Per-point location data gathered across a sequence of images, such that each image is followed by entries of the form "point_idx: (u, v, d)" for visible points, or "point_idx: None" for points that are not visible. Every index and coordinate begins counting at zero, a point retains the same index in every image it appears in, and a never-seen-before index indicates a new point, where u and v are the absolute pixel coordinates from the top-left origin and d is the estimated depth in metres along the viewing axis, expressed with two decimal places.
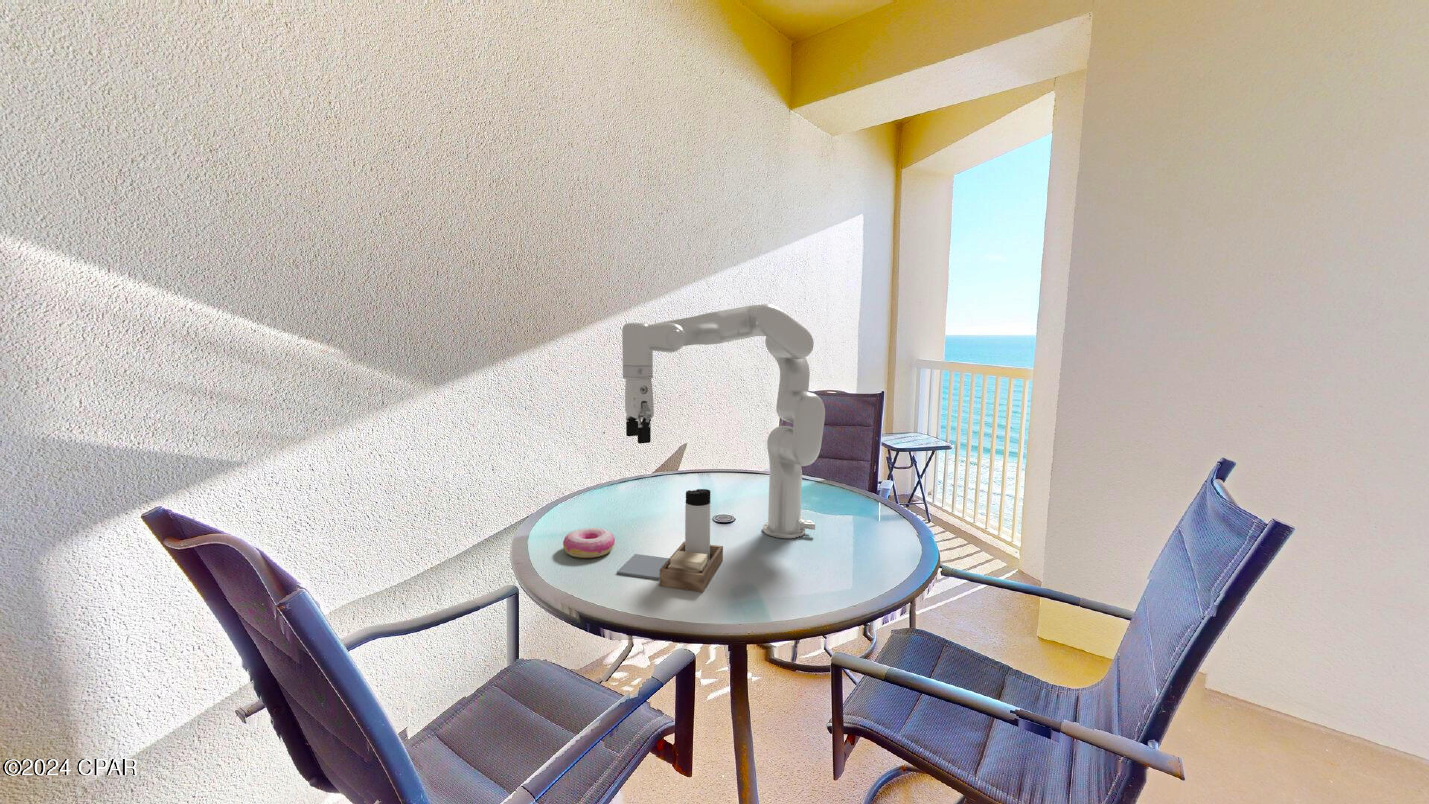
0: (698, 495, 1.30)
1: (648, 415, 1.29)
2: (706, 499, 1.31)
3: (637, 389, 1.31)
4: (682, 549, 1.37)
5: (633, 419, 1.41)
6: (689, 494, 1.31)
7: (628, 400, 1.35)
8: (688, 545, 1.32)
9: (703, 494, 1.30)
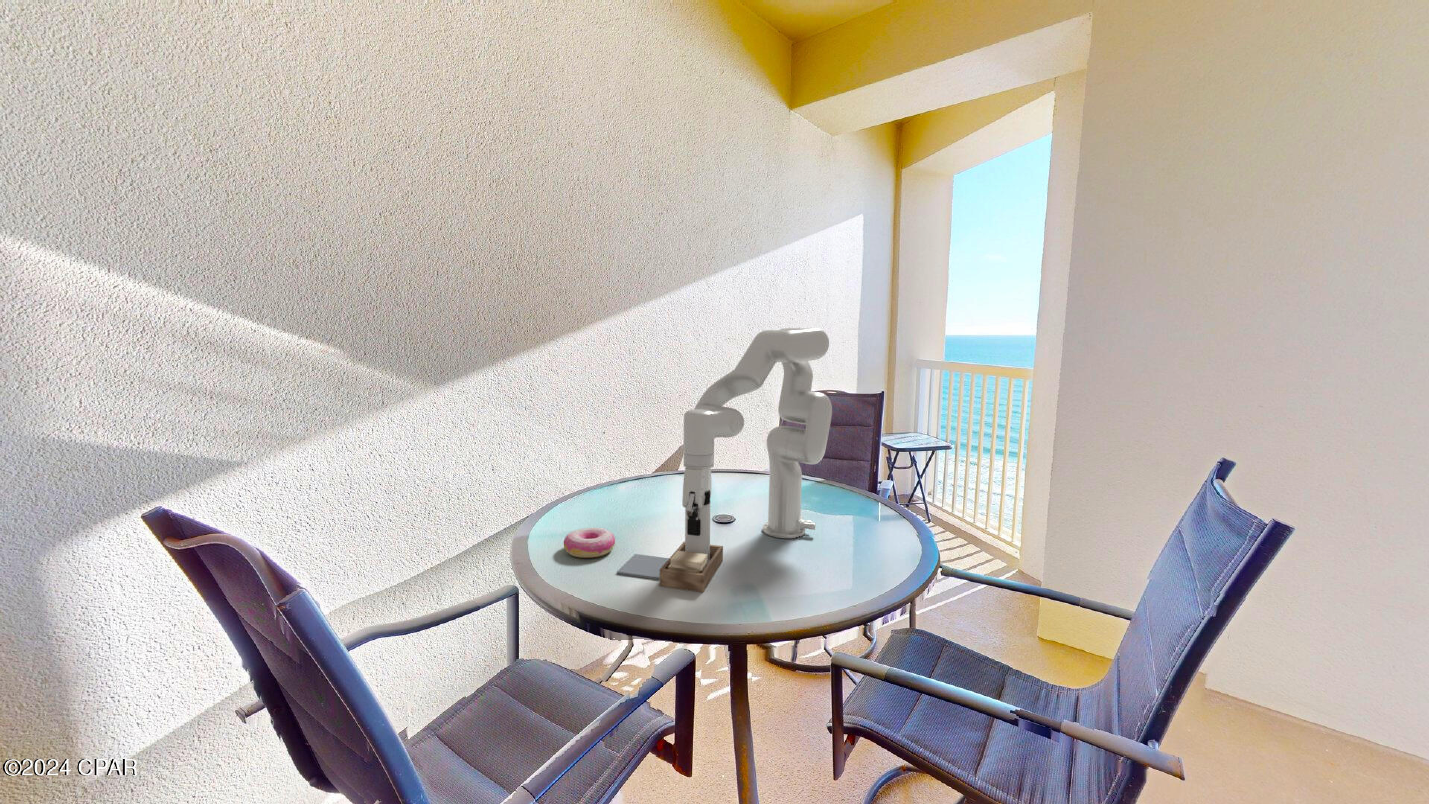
0: None
1: None
2: (706, 499, 1.31)
3: None
4: (682, 549, 1.37)
5: None
6: None
7: (707, 488, 1.32)
8: (688, 545, 1.32)
9: None
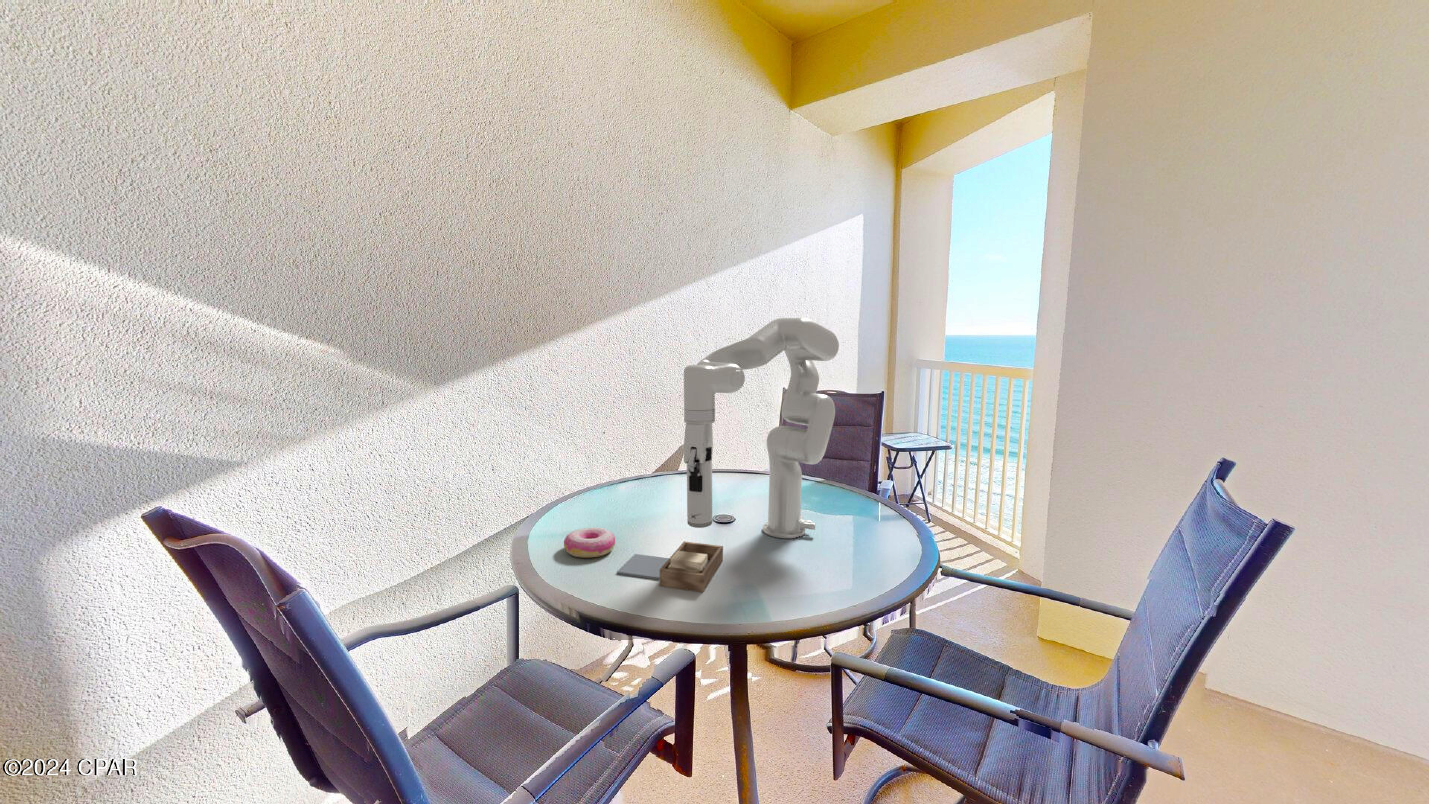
0: None
1: None
2: (707, 455, 1.30)
3: None
4: (682, 549, 1.37)
5: None
6: None
7: (709, 444, 1.31)
8: (690, 502, 1.31)
9: None
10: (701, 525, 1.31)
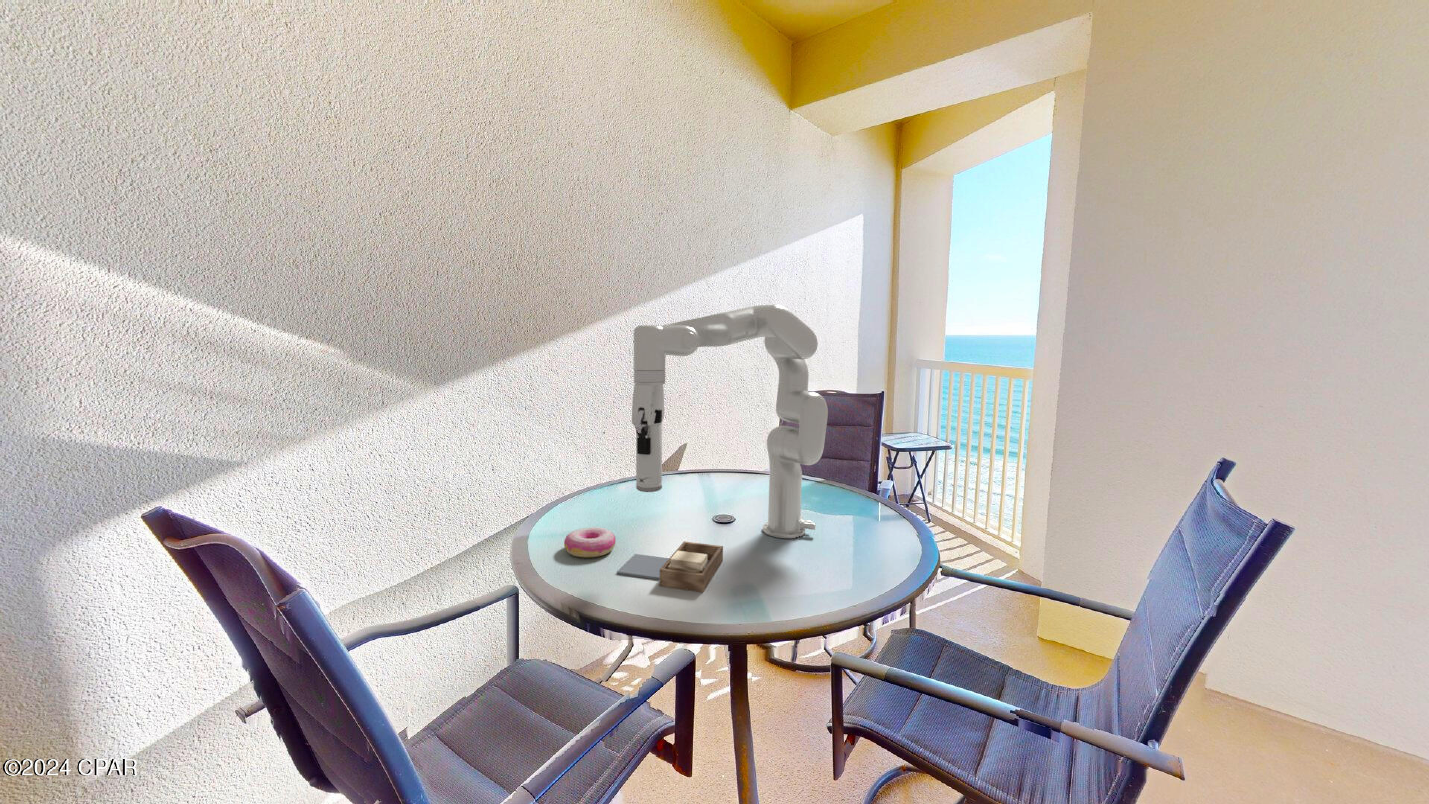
0: None
1: None
2: (657, 417, 1.27)
3: None
4: (682, 549, 1.37)
5: None
6: None
7: (659, 407, 1.28)
8: (639, 466, 1.28)
9: None
10: (649, 489, 1.28)
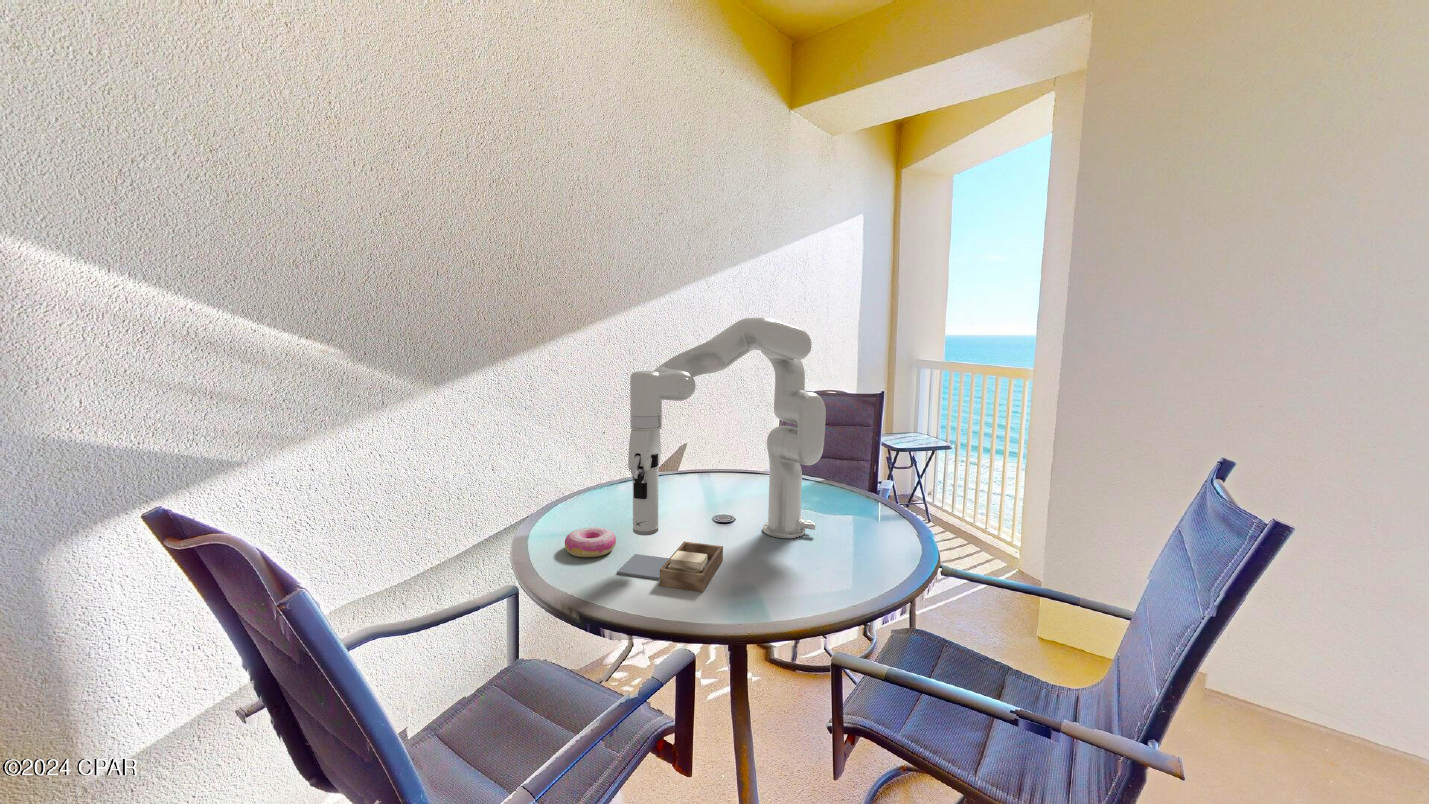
0: None
1: None
2: (653, 462, 1.28)
3: None
4: (682, 549, 1.37)
5: None
6: None
7: (655, 451, 1.30)
8: (635, 509, 1.30)
9: None
10: (646, 533, 1.30)
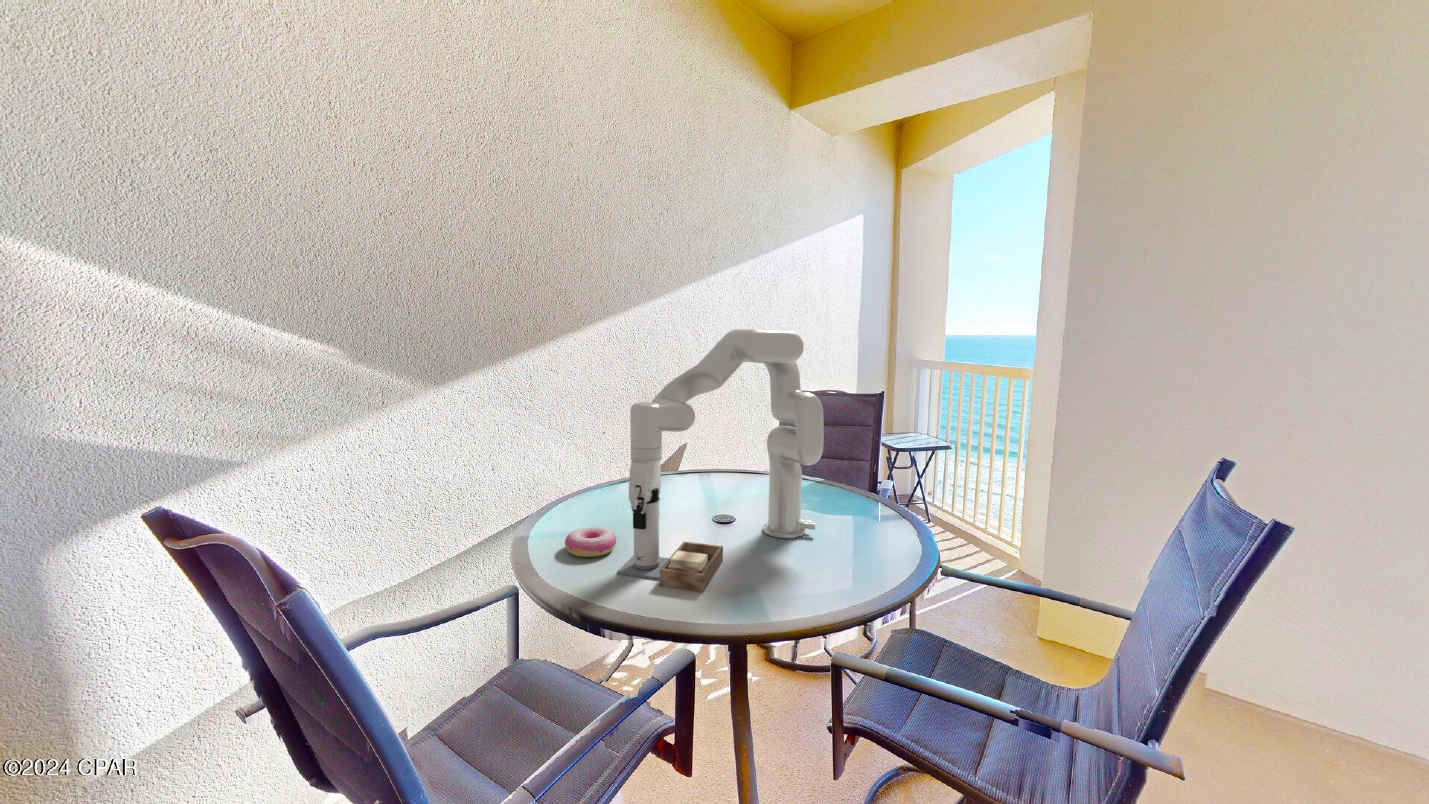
0: None
1: None
2: (653, 497, 1.30)
3: None
4: (682, 549, 1.37)
5: None
6: None
7: (655, 482, 1.31)
8: (636, 544, 1.31)
9: None
10: (646, 567, 1.31)
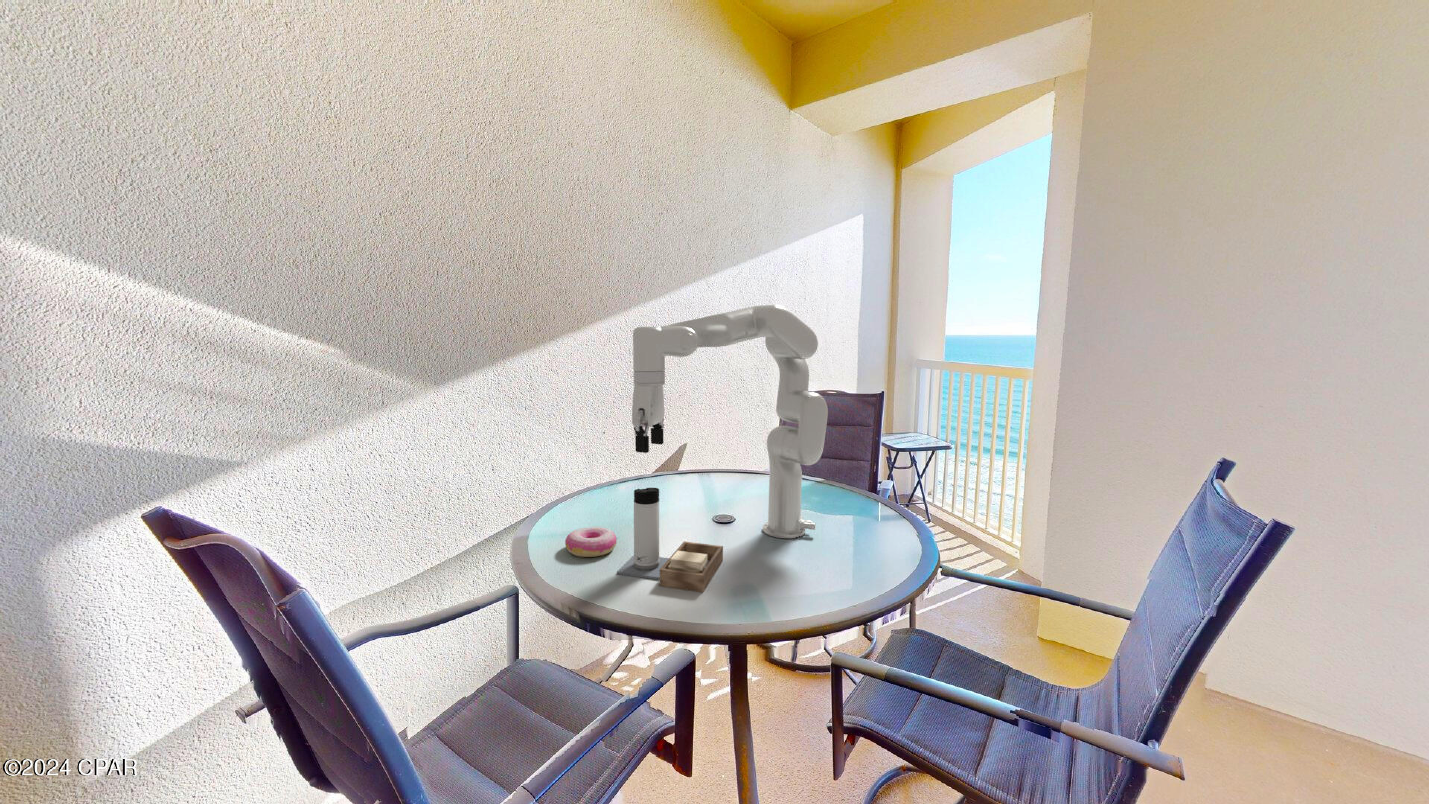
0: (645, 494, 1.28)
1: None
2: (654, 498, 1.29)
3: None
4: (682, 549, 1.37)
5: None
6: (636, 492, 1.29)
7: (658, 407, 1.29)
8: (636, 544, 1.31)
9: (650, 493, 1.28)
10: (646, 567, 1.31)
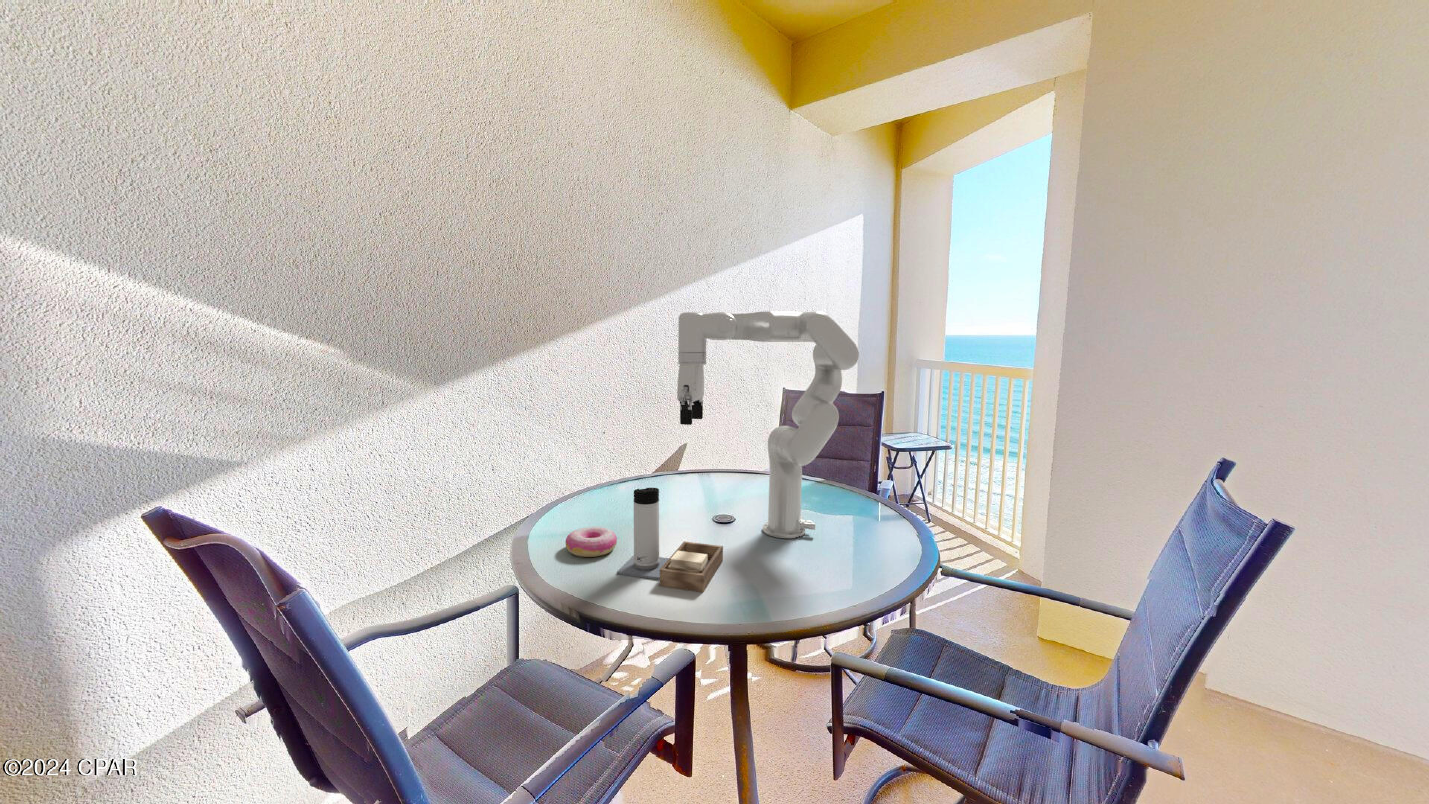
0: (645, 494, 1.28)
1: None
2: (653, 498, 1.29)
3: None
4: (682, 549, 1.37)
5: None
6: (636, 493, 1.29)
7: (700, 385, 1.44)
8: (636, 544, 1.31)
9: (650, 493, 1.28)
10: (646, 567, 1.31)
